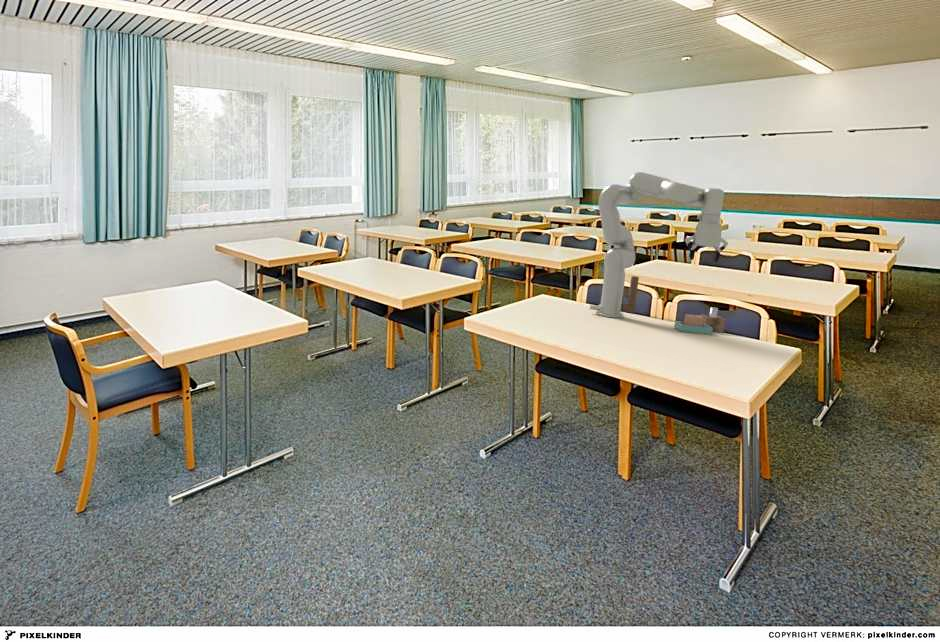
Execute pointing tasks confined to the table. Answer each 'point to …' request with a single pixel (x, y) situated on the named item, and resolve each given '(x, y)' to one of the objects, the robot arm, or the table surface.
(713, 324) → the brown block
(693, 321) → the block
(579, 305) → the table surface
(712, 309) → the pin gauge
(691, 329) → the tray
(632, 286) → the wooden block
